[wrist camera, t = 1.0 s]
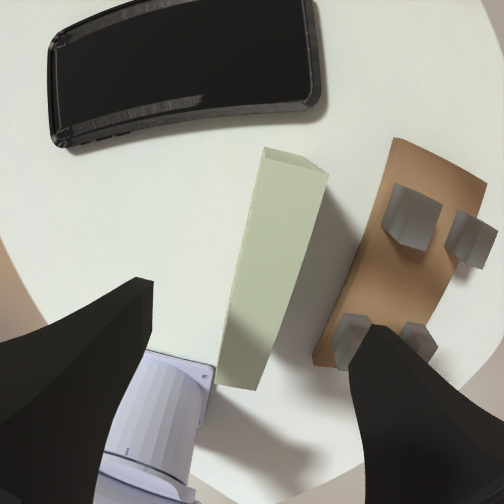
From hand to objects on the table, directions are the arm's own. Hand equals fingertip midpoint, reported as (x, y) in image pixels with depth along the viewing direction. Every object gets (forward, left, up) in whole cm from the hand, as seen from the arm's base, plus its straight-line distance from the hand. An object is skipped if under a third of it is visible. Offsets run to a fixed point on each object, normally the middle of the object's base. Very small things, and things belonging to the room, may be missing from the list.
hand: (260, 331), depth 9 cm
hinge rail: (0, -9, -8) cm, 12 cm away
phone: (+9, +7, -8) cm, 14 cm away
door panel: (0, 0, -8) cm, 8 cm away
